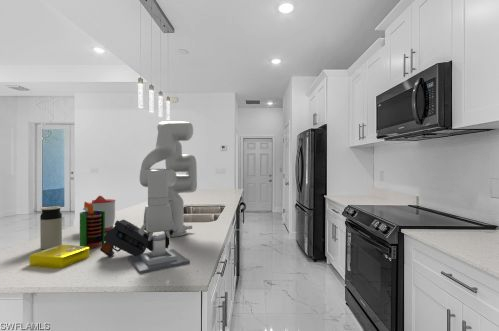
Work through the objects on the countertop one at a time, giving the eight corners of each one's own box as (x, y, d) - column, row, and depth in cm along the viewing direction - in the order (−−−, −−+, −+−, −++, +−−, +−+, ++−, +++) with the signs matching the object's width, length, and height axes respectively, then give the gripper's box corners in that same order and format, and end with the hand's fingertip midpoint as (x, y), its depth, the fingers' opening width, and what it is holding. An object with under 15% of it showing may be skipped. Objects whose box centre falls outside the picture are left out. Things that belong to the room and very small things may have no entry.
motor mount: (173, 251, 122) (173, 245, 122) (189, 263, 107) (189, 256, 107) (128, 259, 112) (128, 253, 112) (140, 273, 97) (139, 266, 97)
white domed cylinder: (163, 250, 113) (163, 233, 113) (167, 254, 109) (167, 235, 109) (149, 253, 110) (149, 235, 110) (153, 256, 106) (153, 238, 106)
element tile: (62, 254, 120) (62, 243, 120) (92, 257, 117) (91, 245, 117) (26, 266, 106) (26, 253, 106) (59, 270, 102) (59, 256, 102)
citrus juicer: (94, 227, 170) (94, 193, 170) (121, 228, 168) (121, 194, 168) (74, 233, 155) (74, 196, 155) (104, 234, 152) (104, 197, 152)
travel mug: (65, 246, 131) (65, 206, 131) (47, 250, 124) (47, 209, 124) (55, 244, 134) (54, 205, 134) (36, 248, 127) (36, 208, 127)
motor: (91, 250, 124) (91, 204, 124) (74, 249, 126) (73, 203, 126) (107, 243, 134) (107, 201, 134) (91, 243, 136) (90, 201, 136)
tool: (101, 247, 119) (119, 215, 119) (142, 268, 120) (160, 237, 121) (94, 251, 113) (114, 218, 113) (138, 274, 114) (157, 241, 115)
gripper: (176, 199, 118) (176, 243, 118) (132, 202, 108) (132, 250, 108) (183, 201, 111) (183, 247, 112) (137, 204, 102) (137, 255, 102)
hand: (158, 248), depth 110 cm, fingers closed on white domed cylinder, 5 cm apart
